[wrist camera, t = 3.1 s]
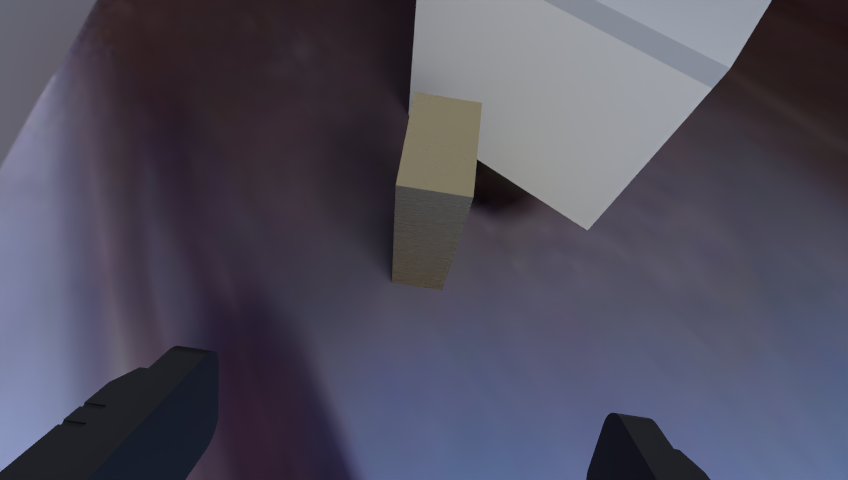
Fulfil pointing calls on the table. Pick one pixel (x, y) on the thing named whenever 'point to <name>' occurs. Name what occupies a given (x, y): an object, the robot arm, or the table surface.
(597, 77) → the box
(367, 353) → the table surface
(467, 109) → the tan rectangular block
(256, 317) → the table surface
